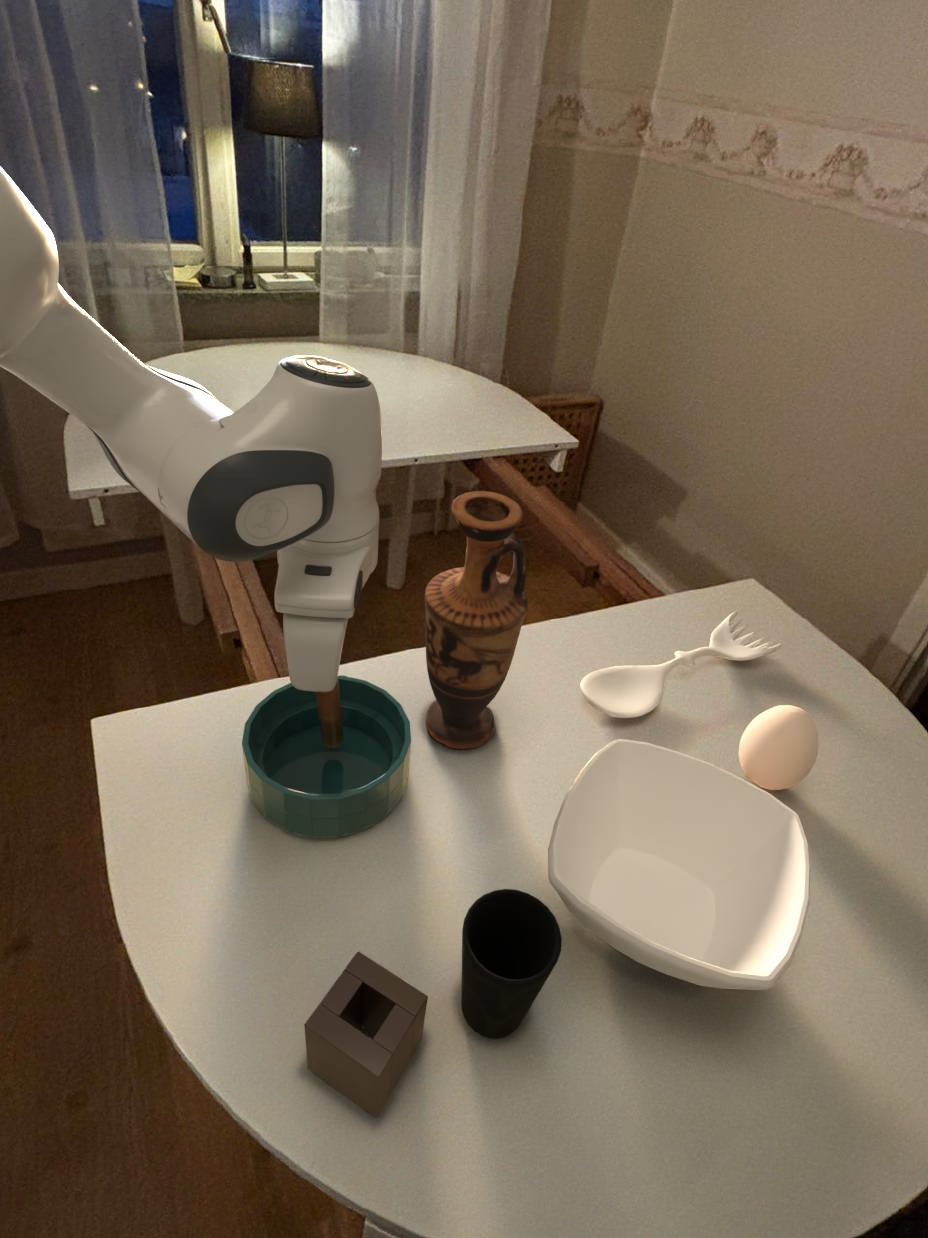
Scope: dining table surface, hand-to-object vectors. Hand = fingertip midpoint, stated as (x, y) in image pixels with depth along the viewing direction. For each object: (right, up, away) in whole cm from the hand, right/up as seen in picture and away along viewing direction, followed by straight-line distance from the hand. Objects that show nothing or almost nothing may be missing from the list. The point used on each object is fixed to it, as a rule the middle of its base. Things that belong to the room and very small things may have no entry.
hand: (329, 659), depth 74 cm
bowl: (+32, -25, -2) cm, 40 cm away
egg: (+49, -15, +13) cm, 53 cm away
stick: (-1, -10, +8) cm, 13 cm away
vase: (+13, -9, +16) cm, 22 cm away
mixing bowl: (-1, -13, +7) cm, 15 cm away
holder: (+6, -31, -14) cm, 35 cm away
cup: (+16, -29, -10) cm, 35 cm away
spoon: (+42, -4, +27) cm, 50 cm away
